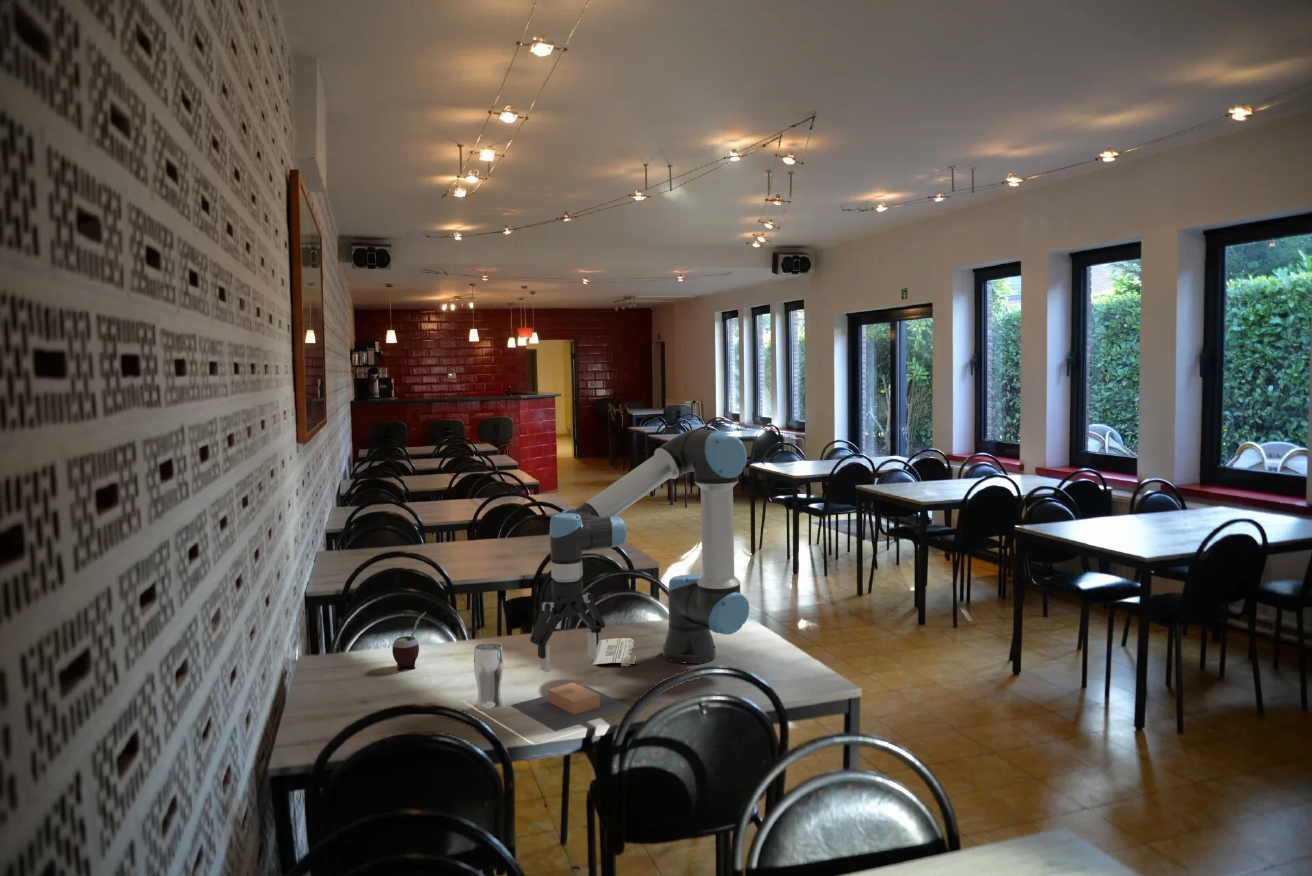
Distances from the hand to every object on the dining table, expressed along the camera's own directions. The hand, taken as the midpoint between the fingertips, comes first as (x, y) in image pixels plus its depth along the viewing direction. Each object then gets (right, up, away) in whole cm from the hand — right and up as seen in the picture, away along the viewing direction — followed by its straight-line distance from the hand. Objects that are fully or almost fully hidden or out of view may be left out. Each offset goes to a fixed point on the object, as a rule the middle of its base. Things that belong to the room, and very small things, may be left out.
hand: (569, 664), depth 221 cm
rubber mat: (+1, -10, -2) cm, 10 cm away
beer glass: (-19, -10, -2) cm, 22 cm away
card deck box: (-2, -8, +3) cm, 9 cm away
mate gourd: (-47, -8, +27) cm, 55 cm away
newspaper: (+10, -8, +39) cm, 41 cm away
